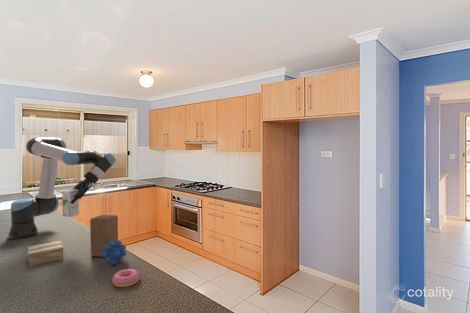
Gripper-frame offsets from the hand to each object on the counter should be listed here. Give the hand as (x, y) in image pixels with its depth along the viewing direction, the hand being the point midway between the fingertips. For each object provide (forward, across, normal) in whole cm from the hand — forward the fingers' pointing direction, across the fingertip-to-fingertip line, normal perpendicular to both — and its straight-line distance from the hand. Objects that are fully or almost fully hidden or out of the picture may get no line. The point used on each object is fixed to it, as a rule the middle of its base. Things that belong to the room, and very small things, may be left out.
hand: (63, 206), depth 148 cm
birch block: (+24, -4, -10) cm, 27 cm away
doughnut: (+13, -60, -22) cm, 65 cm away
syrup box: (+2, 0, -7) cm, 7 cm away
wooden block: (+8, -22, -26) cm, 35 cm away
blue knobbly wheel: (+10, -40, -25) cm, 48 cm away
